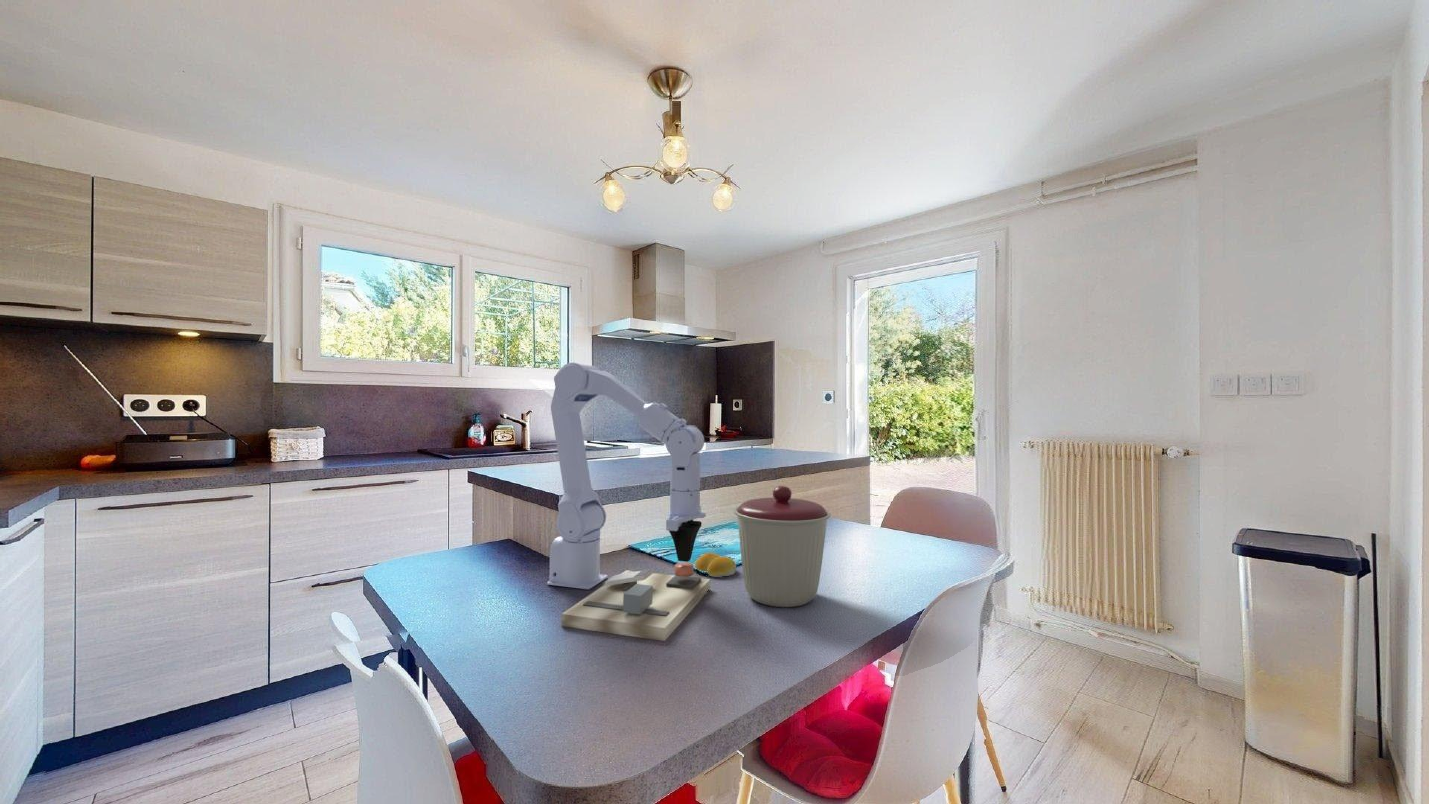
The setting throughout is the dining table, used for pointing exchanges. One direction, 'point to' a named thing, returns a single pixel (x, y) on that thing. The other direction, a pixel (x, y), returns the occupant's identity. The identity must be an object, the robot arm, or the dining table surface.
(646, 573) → the grey rocker
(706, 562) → the double yolk fried egg
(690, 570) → the red push button
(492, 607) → the dining table surface
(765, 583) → the canister
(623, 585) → the switch panel
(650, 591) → the grey rectangular block
